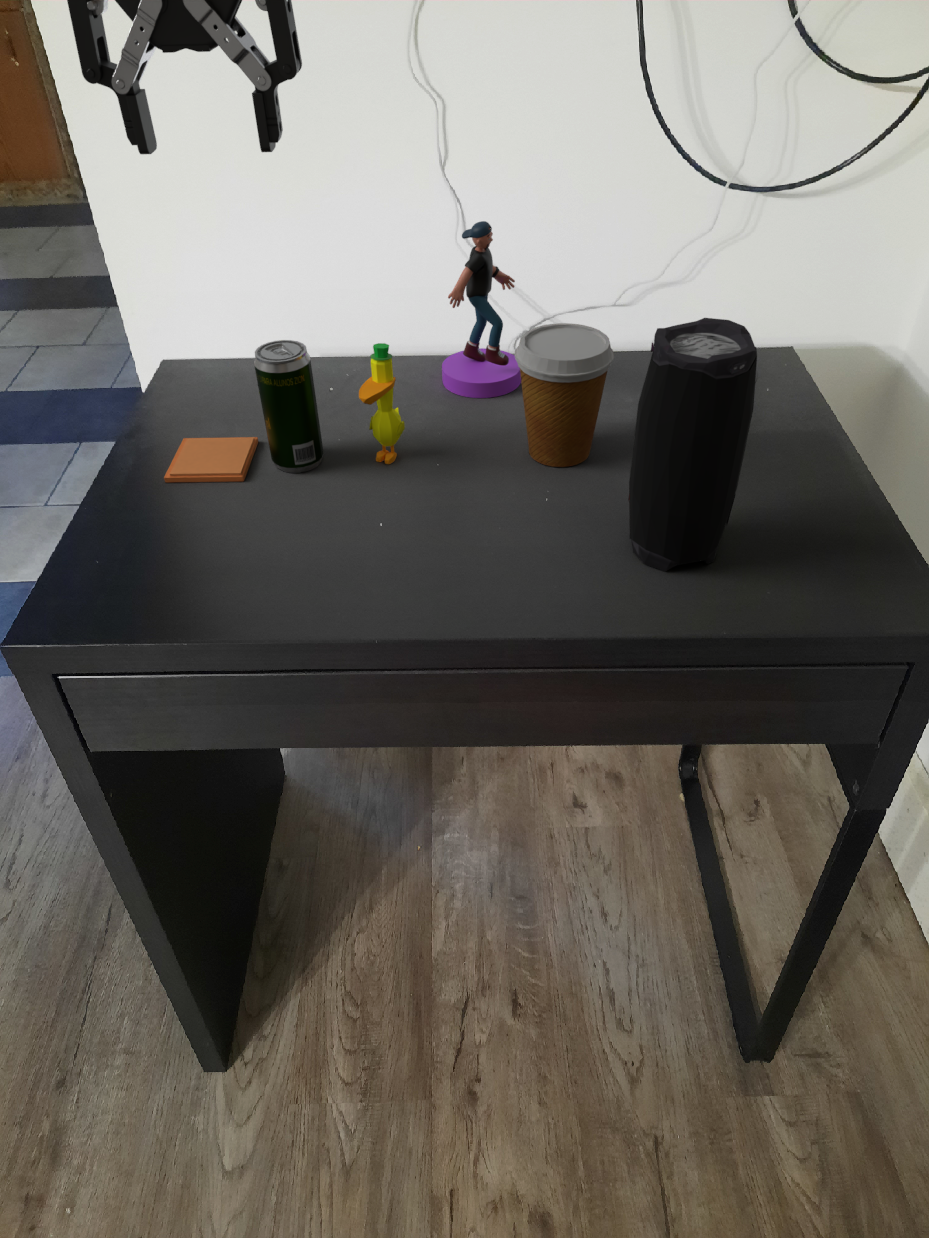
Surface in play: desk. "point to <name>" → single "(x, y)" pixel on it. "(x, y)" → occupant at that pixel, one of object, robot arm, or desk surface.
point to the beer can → (289, 405)
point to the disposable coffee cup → (562, 389)
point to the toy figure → (382, 402)
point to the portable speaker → (690, 440)
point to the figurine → (481, 328)
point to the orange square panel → (212, 460)
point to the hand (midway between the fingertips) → (209, 151)
